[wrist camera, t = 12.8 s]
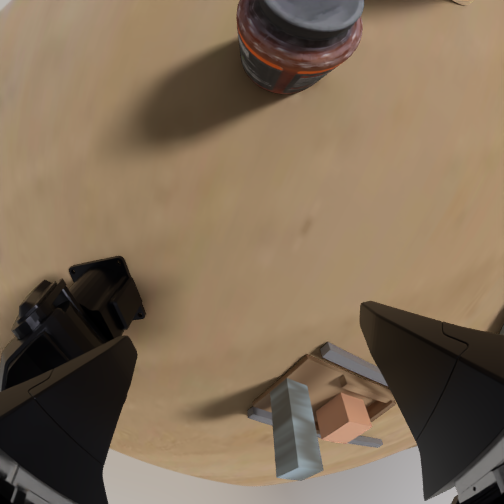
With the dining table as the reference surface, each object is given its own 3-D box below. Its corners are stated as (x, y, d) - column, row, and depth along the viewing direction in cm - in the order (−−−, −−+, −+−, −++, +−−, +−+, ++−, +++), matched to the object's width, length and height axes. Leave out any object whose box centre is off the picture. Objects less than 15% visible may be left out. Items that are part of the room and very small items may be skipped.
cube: (315, 411, 31) (321, 439, 27) (340, 392, 30) (349, 421, 26) (338, 417, 32) (345, 443, 28) (362, 400, 31) (372, 426, 27)
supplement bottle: (336, 56, 17) (412, 2, 6) (291, 111, 18) (341, 88, 8) (271, 12, 15) (291, -75, 5) (224, 66, 17) (199, 1, 7)
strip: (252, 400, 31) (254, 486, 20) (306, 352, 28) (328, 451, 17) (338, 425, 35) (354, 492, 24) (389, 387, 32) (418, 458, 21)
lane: (247, 410, 32) (247, 417, 31) (327, 341, 27) (330, 349, 26) (376, 442, 38) (377, 447, 37) (439, 396, 34) (442, 401, 33)
